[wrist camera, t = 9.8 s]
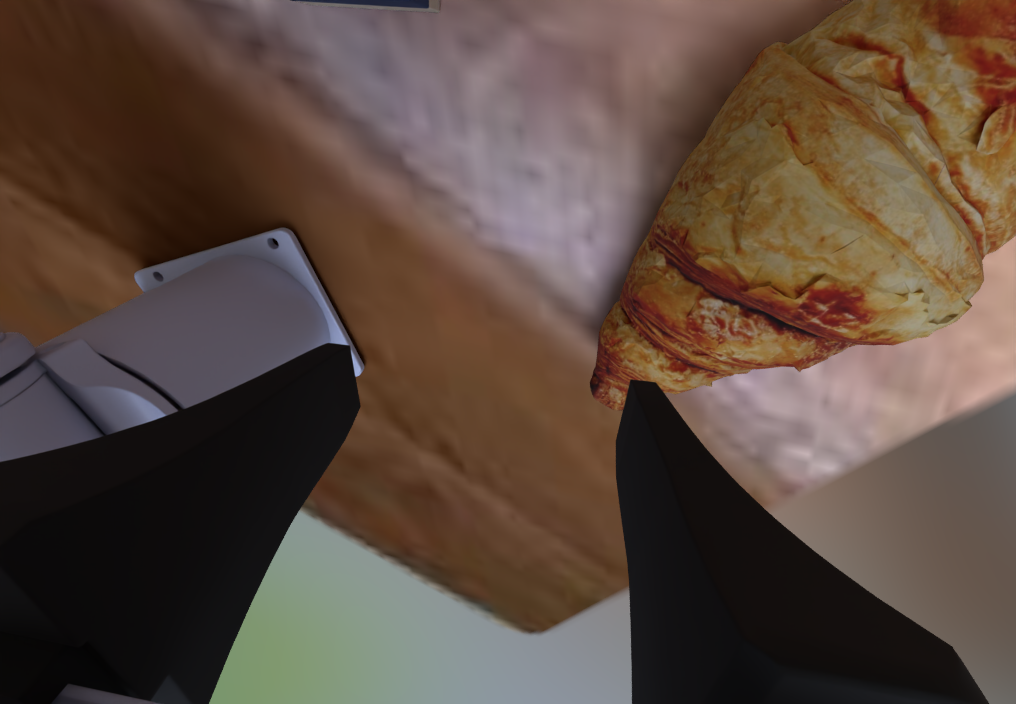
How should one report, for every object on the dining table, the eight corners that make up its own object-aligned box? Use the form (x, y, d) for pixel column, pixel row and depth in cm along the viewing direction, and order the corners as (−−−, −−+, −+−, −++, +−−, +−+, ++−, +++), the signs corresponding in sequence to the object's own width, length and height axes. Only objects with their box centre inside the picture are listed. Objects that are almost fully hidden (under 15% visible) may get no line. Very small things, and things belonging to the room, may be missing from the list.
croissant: (1022, -184, 13) (1285, -637, 7) (1376, 12, 11) (2309, -357, 4) (561, 310, 24) (477, 334, 17) (701, 461, 21) (670, 557, 15)
